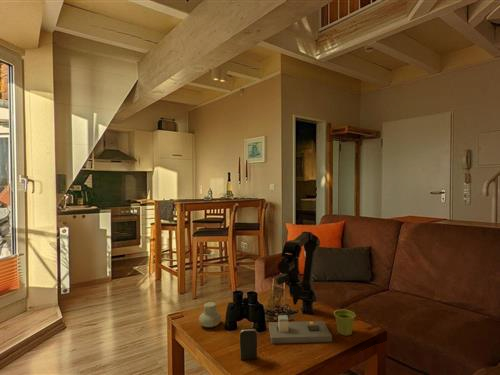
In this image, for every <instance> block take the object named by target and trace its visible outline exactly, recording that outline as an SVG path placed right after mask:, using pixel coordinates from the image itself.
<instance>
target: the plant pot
mask: <svg viewBox="0 0 500 375" xmlns="http://www.w3.org/2000/svg"><path fill="white" fill-rule="evenodd" d="M333 315H334V318H335V321H336V328H337V329H336V330H337V333H339V335H341V336H346V337H347V336H351V335H352V334H353V327H354V320H355V318H356V314H355V312H354V311H351V310H350V309H349V310H348V309H336V310H335V311H333Z"/></svg>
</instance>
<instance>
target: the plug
mask: <svg viewBox="0 0 500 375" xmlns="http://www.w3.org/2000/svg"><path fill="white" fill-rule="evenodd" d="M277 318H278V321H277V322H278V331H279V332H288V322H289V318H288V315H287V314H283V315H282V314H279V315H277ZM279 332H278V333H279Z"/></svg>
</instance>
